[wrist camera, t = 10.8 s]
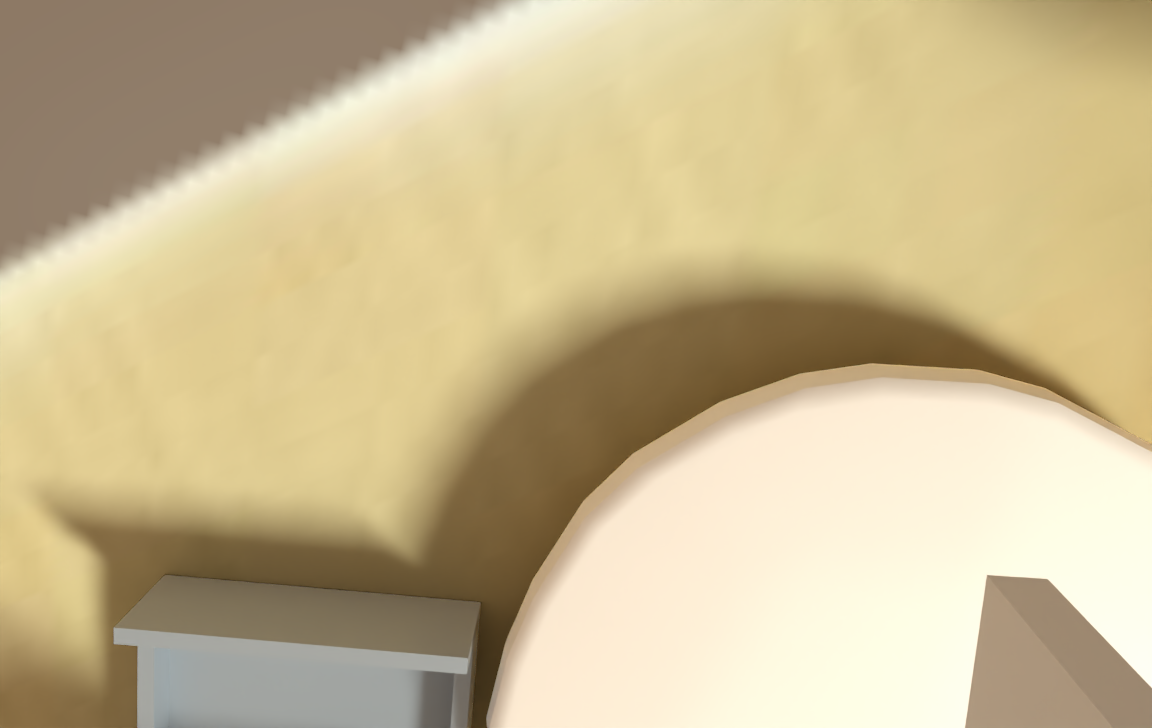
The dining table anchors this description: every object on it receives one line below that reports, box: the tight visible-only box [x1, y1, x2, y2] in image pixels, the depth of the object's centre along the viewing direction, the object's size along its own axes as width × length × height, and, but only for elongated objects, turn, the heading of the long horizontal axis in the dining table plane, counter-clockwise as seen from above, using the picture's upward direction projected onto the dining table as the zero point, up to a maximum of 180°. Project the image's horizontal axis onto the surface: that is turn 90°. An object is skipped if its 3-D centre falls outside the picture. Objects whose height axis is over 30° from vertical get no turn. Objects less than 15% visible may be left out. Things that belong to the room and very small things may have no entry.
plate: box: [486, 363, 1152, 728], centre depth 39 cm, size 28×6×27 cm
